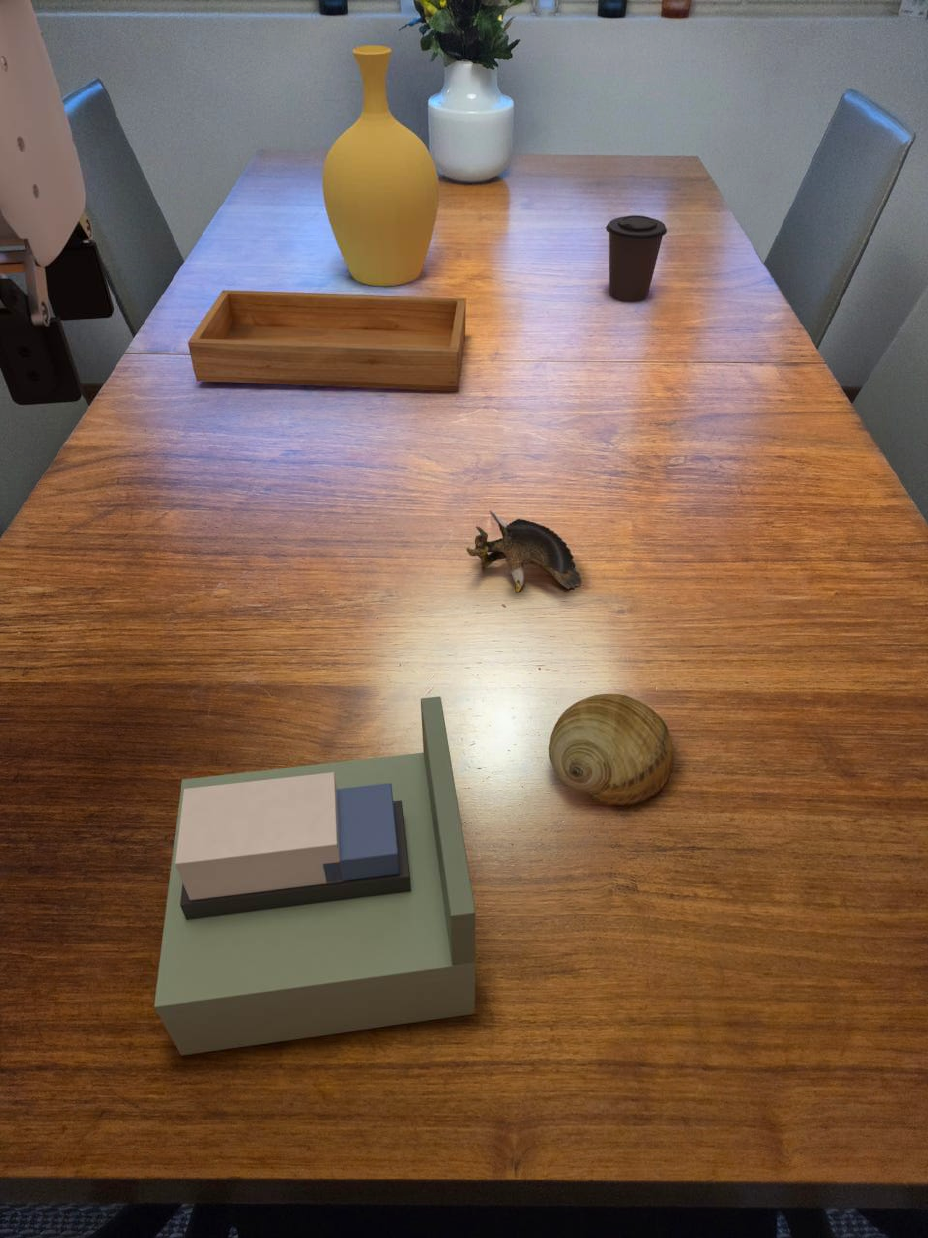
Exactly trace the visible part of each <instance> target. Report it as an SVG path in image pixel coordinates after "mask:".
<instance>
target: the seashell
mask: <svg viewBox="0 0 928 1238" xmlns="http://www.w3.org/2000/svg"><path fill="white" fill-rule="evenodd" d="M548 744H549V745H548V756H549V757H548V758H549V761H550V764H551V767H552V769H553V771H554V772H555V774H556V775H557V777H558V778H559V779H560V780H561V781H562V782H563V784H565V785H567V786H569V787H570V788H571V789H573V790H575V791H577V792H583V793H588V794H589V795H590V796H591V798H592V800H595V801H596V802H597V801H598V802H599V803H602V804H606V805H611V806H615V805H617V806H621V805H622V806H624V807H627V806H629V805H630V804H639V803H641V802H643V801H646V800H650V799H651V798H652V797H653V796H657V794H658V793H659V792H660V791H662V789H663V787H664V786H666V785H667V782H668V779H669V777H670V774H671V772H672V767H673V762H674V745H673V742H672V738H671V735H670V732H669V728H668V725H667V724H666V723H665V721H664V719H663V718H662V717H661V716H660V715H659V714H658V712H656V711H655V710H654V709H653V708H651V707H649V706H648V705H647V704H645V703H644V702H642V701H640V700H638V699H635V698H633V697H631V696H628V695H626V694H620V693H602V694H594V695H590V696H588V697H585V698H582V699H581V700H579V701H577V702H574V703H573V704H572V705H570V706H569V707H568V708H566V709H565V710H564V711H563V712H562V714H560V716H559V718H558V719H557V721H556V722H555V724H554V726H553V728H552V731H551V734H550V737H549V743H548Z"/></svg>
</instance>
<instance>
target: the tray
mask: <svg viewBox="0 0 928 1238" xmlns="http://www.w3.org/2000/svg"><path fill="white" fill-rule="evenodd" d="M466 300H467V299H466V298H464V297H446V296H445V297H443V296H413V295H412V296H409V295H381V294H380V295H379V294H377V295H376V294H374V295H373V294H351V293H347V294H346V293H325V292H324V293H319V292H295V291H294V292H293V291H292V292H288V291H263V290H262V291H260V290H232V289H231V290H229V289H227V290H226V289H225V290H224V289H223V290H221V292H220V293H219V295H218V296H217V297H216V299H215V301H214V302H213V304H212V305H211V307H210V308H209V310H208V311H207V312H206V314H205V315H204V317H203V319H202V320H201V322H200V323H199V324H198V326H197V327H196V329H195V331H194V332H193V334H192V335H191V336H190V338H189V339H188V341H187V345H188V350H189V354H190V359H191V364H192V368H193V369H192V370H193V372H194V376H195V380H196V382H203V383H204V382H205V383H237V384H239V383H241V384H267V385H269V384H270V385H271V384H273V385H274V384H275V385H296V386H301V385H302V386H324V387H325V386H326V387H349V388H350V387H351V388H352V387H353V388H372V389H373V388H375V389H399V390H400V389H402V390H422V391H423V390H425V391H451V392H458V391H459V386H460V378H461V372H462V371H461V369H462V362H463V356H464V355H463V354H464V347H465V340H466V339H465V337H466V311H467V310H466V309H467V308H466V305H467V303H466Z"/></svg>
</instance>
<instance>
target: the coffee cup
mask: <svg viewBox="0 0 928 1238" xmlns="http://www.w3.org/2000/svg"><path fill="white" fill-rule="evenodd" d="M605 229H606V232H607V233H608V294H609V295H608V296H610V297H611V298H612V299H613V300H615V301H619V302H623V303H637V302H642V301H645V300H646V299H647V298H648V296H649V292H650V289H651V285H652V281H653V276H654V273H655V270H656V269H655V268H656V265H657V260H658V256H659V252H660V250H661V249H660V248H661V245H662V241H663V237H664V236H665V235H666V234H667V232H668V229H667V227H666V224H665V223H664V222H663V221H661V220H659V219H656V218H653V217H649V216H645V215H638V214H636V215H635V214H633V215H625V216H619V217H616V218H615V217H614V218H613V219H611V220H609V222H608V224H607V225H606V226H605Z"/></svg>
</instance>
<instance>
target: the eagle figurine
mask: <svg viewBox="0 0 928 1238" xmlns="http://www.w3.org/2000/svg"><path fill="white" fill-rule="evenodd" d="M489 515H491V517H492V519H494V521H495V522H496V523H497V526H498V528H499V532H500V533H501V538H498V539H495V540H492V541H488V538H489V534H488V532H486V531H485V530H484V529H483V528H482V527H480V526H477V525H476V526H475V528H476V530H477V531H478V532H479V534H478V535H476V536H475V538H474V546H475V547H474V548H470V547H466V550H465V551H466V552H467V554H468V555H469V556H471V557H478V558H479V559H480V563H481V564H480V566H481V567H482V568H487V567H488V566H490V565H491V564H492V563H493V562H495V561H498V560H504V559H505V560H506V564H507V567H508V570H509V571H510V573H511V575H512V577H513V580H514V585H515V593H519V592H520V591H521V589H522V586H523V585H524V580H525V575H524V566H525V565H530V564H531V565H535V566H537V567H539V568H541V569H542V570H544V571H545V572H547V574H549V575H551V576H552V578H554V580H556V581H557V582H558V583H559V584H560V585H561V586H562V587H564V588H565V590H566V589H567V590H569V589H576V587H579V586H581V582H582V578H581V577H580V576H581V574H580V572H578V570H577V566H576V563H575V561H574V558H575V557H574V555H573V553H572V552H571V549H570V548H569V547H568V544H567V542H566V541H563V539H562V537H560V536H559V535H558V534H557V533H555V531H553V530H552V529H550V527H547V526H545V525H542V524H539V523H537V522H534V521H530V520H526V519H521V518H517V519H515V520H513V521H512V522H509V524H507V523H506V522H504V520H502V519H501V518H500V517H499V516H498V515H497V513H495V511H494V510H492V509H489Z"/></svg>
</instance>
